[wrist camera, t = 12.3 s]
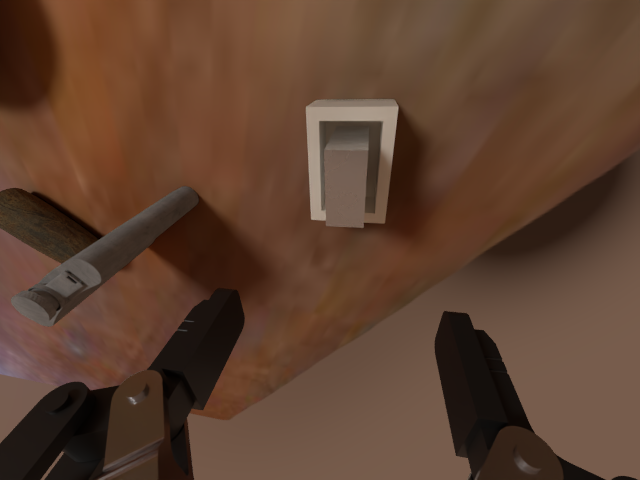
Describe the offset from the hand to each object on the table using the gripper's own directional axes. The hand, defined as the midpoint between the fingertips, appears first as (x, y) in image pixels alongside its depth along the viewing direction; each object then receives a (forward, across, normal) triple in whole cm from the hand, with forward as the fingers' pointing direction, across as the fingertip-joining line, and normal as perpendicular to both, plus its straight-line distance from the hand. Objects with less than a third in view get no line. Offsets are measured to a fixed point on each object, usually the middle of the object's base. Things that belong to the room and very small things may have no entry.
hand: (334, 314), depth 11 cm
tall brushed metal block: (+25, +1, +1) cm, 25 cm away
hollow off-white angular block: (+26, +1, +1) cm, 26 cm away
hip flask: (+26, +30, +11) cm, 41 cm away
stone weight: (+26, +49, +13) cm, 57 cm away
